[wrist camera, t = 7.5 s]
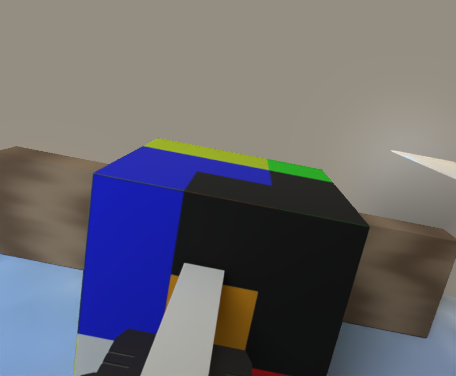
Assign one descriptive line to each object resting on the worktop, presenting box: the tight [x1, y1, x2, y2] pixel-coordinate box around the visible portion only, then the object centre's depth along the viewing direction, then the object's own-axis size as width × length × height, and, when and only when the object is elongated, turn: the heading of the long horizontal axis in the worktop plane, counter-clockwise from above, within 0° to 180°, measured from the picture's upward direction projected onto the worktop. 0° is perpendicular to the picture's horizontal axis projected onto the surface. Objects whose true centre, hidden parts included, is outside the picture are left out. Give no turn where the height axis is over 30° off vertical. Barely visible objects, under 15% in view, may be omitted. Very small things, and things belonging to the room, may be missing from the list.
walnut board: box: [0, 146, 456, 338], centre depth 27 cm, size 30×2×7 cm, turn 86°
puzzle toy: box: [73, 138, 370, 376], centre depth 20 cm, size 10×10×10 cm
